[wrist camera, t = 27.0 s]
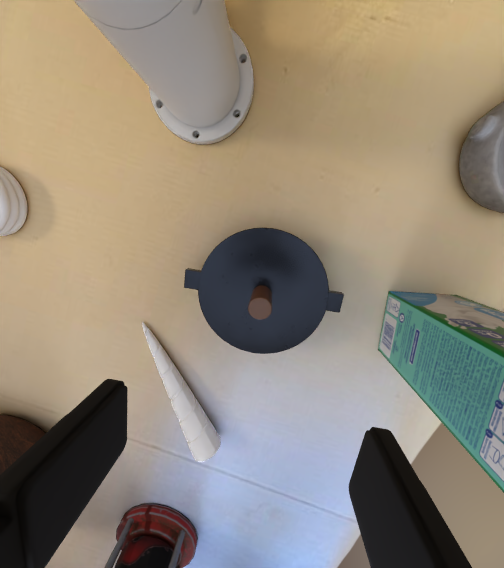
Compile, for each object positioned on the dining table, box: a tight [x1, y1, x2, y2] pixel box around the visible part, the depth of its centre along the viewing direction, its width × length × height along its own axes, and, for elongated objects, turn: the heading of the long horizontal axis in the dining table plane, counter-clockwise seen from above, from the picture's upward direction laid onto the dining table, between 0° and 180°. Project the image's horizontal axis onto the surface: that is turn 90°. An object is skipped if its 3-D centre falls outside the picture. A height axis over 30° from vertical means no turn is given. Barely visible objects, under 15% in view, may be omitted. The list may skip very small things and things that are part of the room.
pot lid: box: [198, 228, 329, 354], centre depth 26 cm, size 16×16×6 cm
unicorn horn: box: [142, 322, 221, 462], centre depth 36 cm, size 5×24×5 cm, turn 22°
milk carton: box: [378, 291, 504, 492], centre depth 21 cm, size 9×9×25 cm
